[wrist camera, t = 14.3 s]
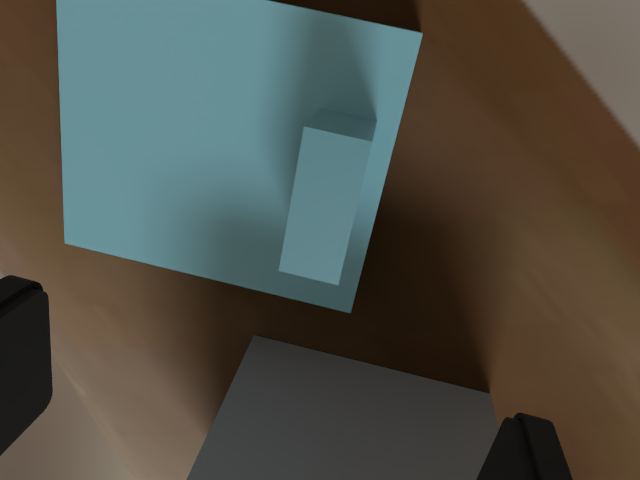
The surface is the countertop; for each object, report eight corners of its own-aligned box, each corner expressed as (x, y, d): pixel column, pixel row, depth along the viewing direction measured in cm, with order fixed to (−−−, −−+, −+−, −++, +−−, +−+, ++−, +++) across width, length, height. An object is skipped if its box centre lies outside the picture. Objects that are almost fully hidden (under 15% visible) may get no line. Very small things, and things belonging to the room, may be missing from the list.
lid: (421, 32, 21) (428, 36, 16) (353, 293, 27) (342, 362, 22) (82, -40, 22) (-19, -59, 17) (86, 228, 28) (10, 279, 23)
